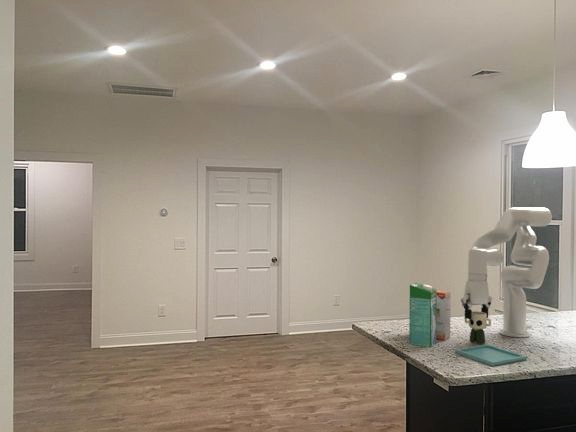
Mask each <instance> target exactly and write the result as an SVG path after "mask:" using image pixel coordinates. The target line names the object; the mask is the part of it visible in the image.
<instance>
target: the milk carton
mask: <svg viewBox="0 0 576 432" xmlns="http://www.w3.org/2000/svg"><path fill="white" fill-rule="evenodd" d="M436 314H437V289H436V288H434V287H433V286H432V285H428V284H426V283H425V284H421V283H419V282H415V283H412V284H410V285H409V331H408V332H409V337H408V338H409V339H408V341H409V344H410V345H416V346H422V347H429V348H431V347H432V346H434V345H435V344H436V343H437V339H436Z"/></svg>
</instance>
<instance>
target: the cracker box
mask: <svg viewBox="0 0 576 432" xmlns="http://www.w3.org/2000/svg"><path fill="white" fill-rule="evenodd" d="M450 338H451V291H443V290H437V314H436V340H439V341H446V340H449V339H450Z"/></svg>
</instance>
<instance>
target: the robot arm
mask: <svg viewBox="0 0 576 432" xmlns="http://www.w3.org/2000/svg"><path fill="white" fill-rule="evenodd" d="M552 218H553V217H552V212H551V211H550V209H548V208H546V207H530V206H528V207H509V208H506V210H505V211H504V212H503V214H502V215H501V217H500V218H499V219H498V221H497V223H496V224H495V226H494V228H493V229H492V230H489V231H488V232H486V233H485V234H483V235H481V236H479V237H478V238H477V239H476V241H474V243H473V244H472V246H471V247H470V249H469V250H468V258H467V259H468V262H467V267H468V268H467V280H466V281H465V286H464V287H465V288H464V292H463V297H462V298H460V301H461V305H462V307H463V309H464V319H465V318H467V320H469V319H472V311H473V310H472V307H473V306H480V305H481V306H482V307H480V308H481V310H480V312H484V313H486V314H487V318H489V309H490V307H491V305H492V300H493V297H492V296H490V295H489V293H490V292H489V285H488V284H489V283H488V267H497V266H500V265H501V264H502V263H503V261H504V254H503V252H502V251H501V250H499V249H497V248H491V247H494V246H497V245H501V244H504V243H505V244H506V243H508V242H509V241H511V240H512V239H513V237H514V236H515V234H516V237H515V241H514V245H513V247H512V250H511V253H510V254H511V255H510V260H511V262H512V263H513V264H514V265H513V264H512V265H507V266H504V267H503V268H502V270H501V273H500V277H501V278H500V279H501V282H502V283H501V284H502V291H503V292H502V293H503V294H502V295H503V297H502V298H503V299H502V300H503V301H502V303H503V304H502V305H503V306H502V310H503V311H502V312H503V313H502V319H503V320H502V321H503V322H502V325H503V326H502V328H501V329H499V334H501V335H503V336H506V337H511V338H512V337H513V338H529V337H531V333H530V332H529V331H528V330H532V329H533V325H532V324H527V295H526V293H525V291H524V288H525V289H531V290H532V289H533V290H534V289H535V290H537V289H539V288H540V287H541V286H542V284H543V282H544V279H545V276H546V273H547V269H548V267H549V262H550V253H549V250H548V249H547V248H546V247H544V246H542V245H536V244H537V235H536V233H535V231H534V230H533V229H532V227H547V226H549V224H551V222H552V220H553V219H552Z"/></svg>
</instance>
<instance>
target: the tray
mask: <svg viewBox="0 0 576 432" xmlns="http://www.w3.org/2000/svg"><path fill="white" fill-rule="evenodd" d="M454 354H456V355H458V356H461V355H462V357H463V358H464V357H465V358H467V359H470V360H473V361H475V362H479V363H482V364H484V365H487V366H491V367H499V366H504V365H509V364H514V363H515V364H516V363H519V362H525V361H528V356H527V355H524V354H522V353H518V352H514V351H510V350H507V349H504V348H501V347H497V346H495V345H491V344H488V343H487V344H479V345H475V346H469V347H468V346H467V347H462V348H455V349H454Z"/></svg>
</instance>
